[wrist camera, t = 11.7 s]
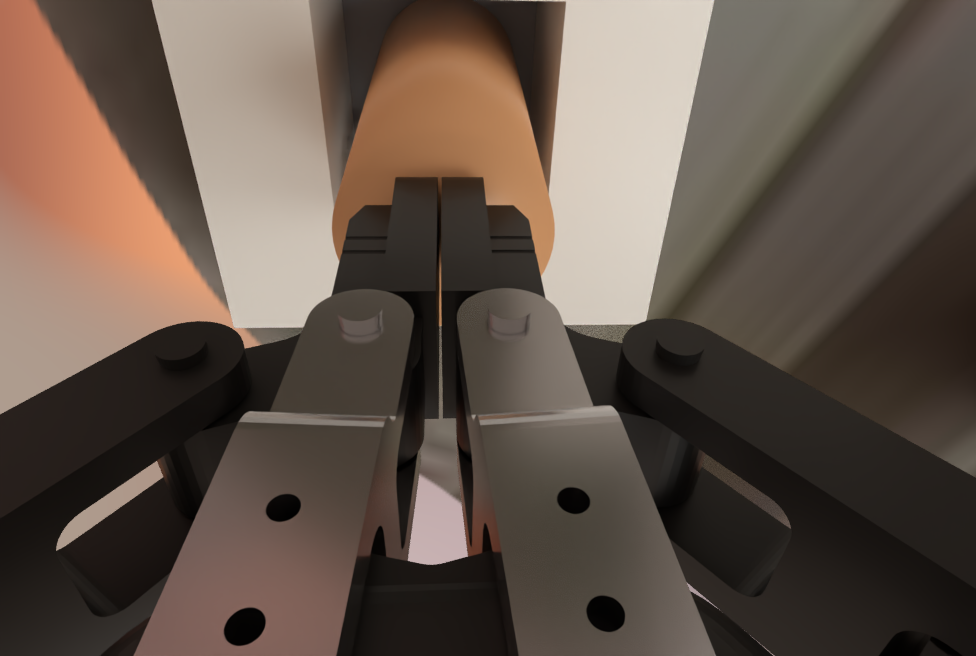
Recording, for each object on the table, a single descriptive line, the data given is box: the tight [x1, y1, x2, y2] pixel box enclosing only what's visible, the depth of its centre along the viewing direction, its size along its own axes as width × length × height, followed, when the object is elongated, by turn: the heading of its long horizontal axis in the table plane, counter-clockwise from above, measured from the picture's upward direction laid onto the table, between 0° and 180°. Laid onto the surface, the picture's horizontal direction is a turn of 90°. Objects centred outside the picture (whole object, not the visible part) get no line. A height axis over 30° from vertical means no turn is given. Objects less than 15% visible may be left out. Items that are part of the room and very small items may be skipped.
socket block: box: [152, 0, 714, 328], centre depth 18 cm, size 12×12×6 cm
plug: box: [332, 0, 555, 326], centre depth 16 cm, size 4×4×10 cm
